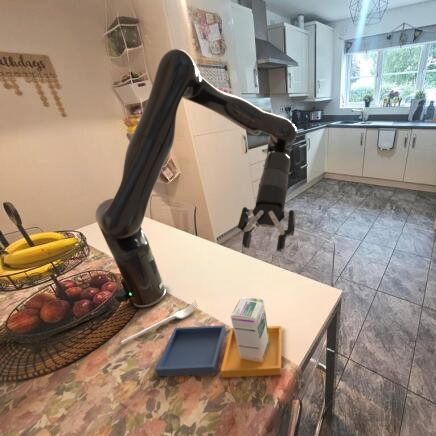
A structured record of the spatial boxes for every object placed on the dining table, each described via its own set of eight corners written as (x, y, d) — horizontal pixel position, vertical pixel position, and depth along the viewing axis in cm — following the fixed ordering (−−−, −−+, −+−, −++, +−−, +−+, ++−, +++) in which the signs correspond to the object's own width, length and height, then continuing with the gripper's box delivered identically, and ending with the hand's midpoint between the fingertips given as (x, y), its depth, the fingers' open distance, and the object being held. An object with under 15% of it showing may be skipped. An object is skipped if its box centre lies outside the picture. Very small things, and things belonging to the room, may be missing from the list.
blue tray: (157, 376, 55) (154, 369, 54) (177, 333, 66) (175, 327, 64) (215, 373, 56) (213, 366, 54) (226, 331, 66) (224, 325, 65)
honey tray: (222, 377, 55) (220, 371, 54) (232, 334, 65) (230, 328, 64) (281, 374, 55) (280, 368, 54) (281, 332, 65) (281, 325, 64)
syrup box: (263, 363, 57) (256, 319, 50) (239, 359, 58) (229, 315, 51) (269, 342, 62) (264, 298, 55) (247, 338, 63) (240, 295, 56)
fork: (121, 340, 64) (118, 335, 64) (196, 303, 75) (195, 299, 74) (122, 349, 62) (119, 344, 61) (200, 310, 73) (198, 305, 72)
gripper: (301, 196, 67) (293, 255, 62) (252, 194, 70) (241, 249, 65) (296, 184, 60) (286, 249, 55) (242, 182, 63) (229, 243, 58)
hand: (262, 249), depth 60 cm, fingers open, 8 cm apart
